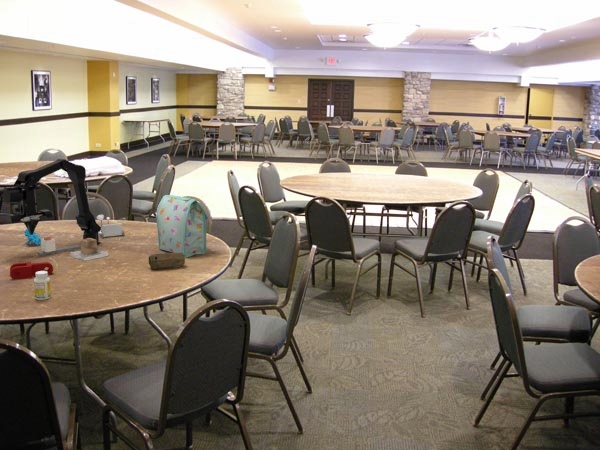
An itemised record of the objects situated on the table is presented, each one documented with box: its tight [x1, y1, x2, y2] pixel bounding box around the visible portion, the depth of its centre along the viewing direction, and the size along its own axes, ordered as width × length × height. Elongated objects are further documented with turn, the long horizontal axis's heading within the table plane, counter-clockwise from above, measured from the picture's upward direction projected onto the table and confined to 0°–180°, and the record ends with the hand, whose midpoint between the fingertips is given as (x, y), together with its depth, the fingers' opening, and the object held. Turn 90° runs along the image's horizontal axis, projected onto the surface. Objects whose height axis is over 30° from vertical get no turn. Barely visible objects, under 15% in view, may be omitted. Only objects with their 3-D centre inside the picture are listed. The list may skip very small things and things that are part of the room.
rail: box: [36, 244, 81, 257], centre depth 281 cm, size 20×3×1 cm, turn 139°
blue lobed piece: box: [23, 228, 42, 246], centre depth 292 cm, size 11×6×10 cm
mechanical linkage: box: [9, 261, 54, 280], centre depth 244 cm, size 16×7×5 cm, turn 115°
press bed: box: [69, 248, 109, 262], centre depth 275 cm, size 12×12×2 cm
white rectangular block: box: [40, 236, 56, 252], centre depth 276 cm, size 4×4×6 cm
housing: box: [80, 238, 98, 255], centre depth 274 cm, size 5×5×7 cm
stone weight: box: [148, 252, 186, 270], centre depth 259 cm, size 15×7×7 cm, turn 122°
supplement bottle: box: [33, 271, 52, 301], centre depth 217 cm, size 5×5×10 cm
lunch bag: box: [155, 194, 209, 259], centre depth 284 cm, size 23×16×27 cm
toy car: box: [95, 214, 125, 239], centre depth 317 cm, size 18×10×12 cm
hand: (31, 234), depth 269 cm, fingers closed
